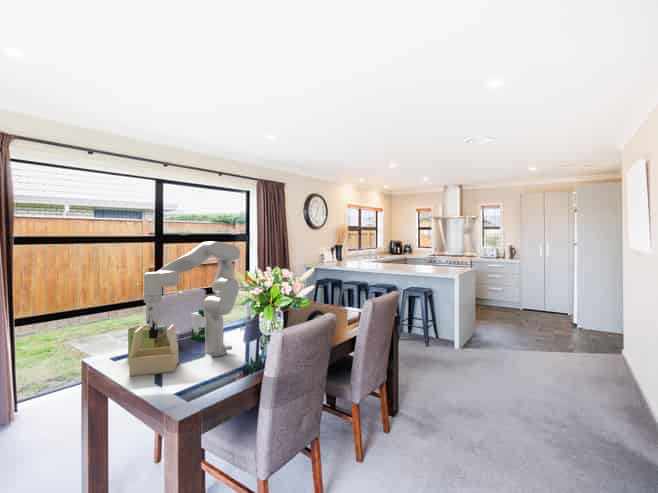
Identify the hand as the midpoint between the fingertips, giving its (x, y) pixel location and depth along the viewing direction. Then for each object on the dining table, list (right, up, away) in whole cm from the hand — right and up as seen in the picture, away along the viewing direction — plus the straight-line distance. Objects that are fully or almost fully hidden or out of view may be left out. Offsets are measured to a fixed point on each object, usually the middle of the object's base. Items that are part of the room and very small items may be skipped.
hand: (153, 337), depth 162 cm
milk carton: (0, -18, +57) cm, 59 cm away
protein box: (-13, -15, +19) cm, 28 cm away
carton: (+1, -15, 0) cm, 15 cm away
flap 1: (-8, -7, -2) cm, 10 cm away
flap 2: (+9, -7, +2) cm, 11 cm away
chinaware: (-12, -15, +38) cm, 43 cm away
